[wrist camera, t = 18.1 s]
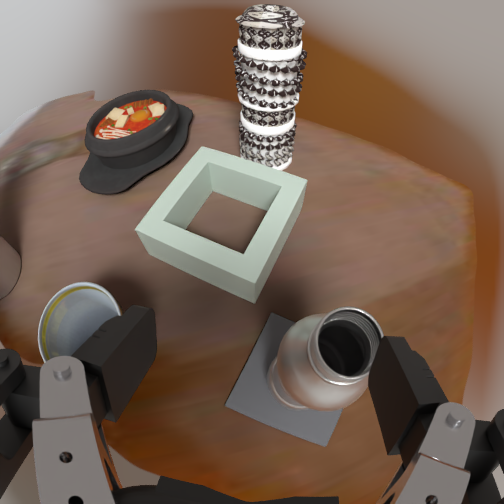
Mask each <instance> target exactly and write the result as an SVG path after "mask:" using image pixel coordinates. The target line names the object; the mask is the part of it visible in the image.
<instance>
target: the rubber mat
mask: <svg viewBox="0 0 504 504" xmlns="http://www.w3.org/2000/svg"><path fill="white" fill-rule="evenodd" d="M294 324H295V322H293V321H291V320H288V319H286V318H284V317H281V316H279V315H277V314H274V313H272V312H271V314H270V316H269V318H268V321H267V323H266V325H265V327H264V329H263V331H262V333H261V335H260V337H259V339H258V341H257V343H256V345H255V347H254V349H253V351H252V353H251V355H250V357H249V359H248V361H247V363H246V365H245V367H244V369H243V371H242V373H241V375H240V377H239V379H238V381H237V383H236V385H235V387H234V388H233V390H232V392H231V394H230V396H229V398H228V400H227V402H226V404H225V406H227V407H229V408H231V409H233V410H235V411H237V412H239V413H241V414H244V415H246V416H248V417H250V418H253V419H255V420H257V421H259V422H262V423H264V424H266V425H269V426H271V427H274V428H276V429H279V430H281V431H284V432H286V433H289V434H291V435H294V436H297V437H299V438H302V439H305V440H307V441H310V442H313V443H316V444H319V445H322V446H325V447H326V445H327V443H328V441H329V439H330V437H331V435H332V432H333V430H334V428H335V426H336V424H337V421H338V419H339V417H340V415H341V412H342V410H343V408H342V409H340V410H335V411H317V410H313V409H308V410H302V411H296V410H291V409H287V408H285V407H283V406H282V405H280V404H279V403H278V402H277V401H276V400H275V399H274V398H273V397H272V395H271V393H270V391H269V388H268V384H267V373H268V370H269V367H270V365H271V363H272V361H273V360H274V359H275V357H276V356H277V355H278V350H279V346H280V343H281V341H282V339H283V337H284V335H285V334H286V332H287V331H288V330H289V329H290V327H292V326H293V325H294Z"/></svg>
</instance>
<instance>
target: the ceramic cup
mask: <svg viewBox="0 0 504 504" xmlns="http://www.w3.org/2000/svg"><path fill="white" fill-rule="evenodd" d="M124 313H125V312H124V311H123V309H122V307H121V306H120V304H119V303H118V301H117V300H116V299H115V297H114V296H113V295H112V294H111V293H110V292H109V291H108V290H107V289H105V288H104V287H102V286H100V285H98V284H95V283H91V282H78V283H74V284H71V285H68V286H66V287H65V288H63V289H61V290H60V291H59V292H57V293H56V294H55V295H54V296H53V297H52V299H51V300H50V301H49V302H48V304H47V306H46V307H45V309H44V311H43V314H42V316H41V319H40V323H39V329H38V344H39V349H40V353H41V356H42V358H43V360H44V362H47V361H48V360H50V359H52V358H54V357H58V356H71V355H72V354H73V353H74V352H75V351H76V350H77V349H78V348H79V347H80V346H81V345H82V344H83V343H84V342H85V341H86V340H87V339H88V338H89V337H90V336H91V337H92V334H93V333H94V332H95V331H96V330H98V328H99V327H100V326H101V325H102V324H103V323H104V322H105V321H107V320H109V319H111V318H113V317H115V316H117V315H119V316H122V315H123V314H124Z"/></svg>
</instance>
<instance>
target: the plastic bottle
mask: <svg viewBox="0 0 504 504" xmlns="http://www.w3.org/2000/svg"><path fill="white" fill-rule="evenodd" d="M383 336H384V335H383V332H382V329H381V327H380V325H379V324H378V322H377V321H376V320H375V319H374V318H373V316H371V315H370V314H369V313H367V312H366V311H364V310H362V309H359V308H356V307H348V306H347V307H340V308H337V309H334V310H333V311H331V312H329V313H321V314H314V315H310V316H307V317H305V318H303V319H301V320H299V321H298V322H296V323H295V324H294V325H293V326H292V327H290V329H289V330H288V331H287V332H286V334H285V335H284V337H283V339H282V341H281V343H280V346H279V350H278V355H277V356H276V357H275V359H274V360H273V361H272V363H271V365H270V367H269V370H268V373H267V384H268V388H269V391H270V393H271V395H272V397H273V398H274V399H275V400H276V401H277V402H278V403H279V404H280V405H282V406H283V407H285V408H287V409H291V410H296V411H302V410H308V409H313V410H317V411H335V410H340V409H342V408H345V407H347V406H349V405H350V404H352V403H353V402H355V401H356V400H357V399H358V398H359V397H360V396H361V395H362V394H363V393H364V391H365V390H366V388H367V387H368V376H369V371H370V368H371V366H372V363H373V360H374V357H375V355H376V352H377V349H378V346H379V343H380V340H381V339H382V337H383Z"/></svg>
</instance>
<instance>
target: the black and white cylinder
mask: <svg viewBox="0 0 504 504" xmlns="http://www.w3.org/2000/svg"><path fill="white" fill-rule="evenodd" d="M236 21H237V23H239V24H240V26H239V33H240V38H239V39H238V46H234V47H233V49H232V51H233V52H234V53H233V56H234V57H236V59H237V60H235V61H234V65H235V66H236V67H235V69H236V71H235V74H236V80H237V81H239V82H237V84H236V87H237V88H238V89H237V91H238V98H239V101H240V102H241V105H242V110H241V112H240V114H241V120H240V121H239V124H240V126H239V128H240V130H239V131H240V153H241V154H240V156H241V158H243V159H246V160H250V161H253V162H256V163H259V164H262V165H265V166H268V167H271V168H274V169H277V170H280V171H282V170H284V169H286V168H287V167H288V166H289V164H290V163H291V160H292V156H293V155H292V153H291V152H293V151H294V149H293V147H292V145H293V144H294V143H295V142H294V141H293V140H294V136H295V128H296V123H295V111H294V108H295V105H296V104H297V103H298V100H299V93H298V92H300V91H301V88H302V85H301V84H300V82H302V81H303V74H302V73H300V70H302V69H304V68H305V65H306V63H305V62H304V61H303V60H302V59H305V58H306V57H307V52H306V51H304V50H303V49H302V41H301V35H302V25H304V22H305V21H304V20H303V19H301V18H300V17H298V15H297V13H296V12H295V11H294V10H293V9H291V8H289V7H285V6H280V5H270V4H269V5H268V4H267V5H255V6H252V7H249V8H247V9H246V10H245V12H244V13H243V14H242V15H241V16H238V17H237V18H236ZM238 50H239V52H240V54H239V52H238ZM240 62H241V64H240ZM297 76H298V77H297Z"/></svg>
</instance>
